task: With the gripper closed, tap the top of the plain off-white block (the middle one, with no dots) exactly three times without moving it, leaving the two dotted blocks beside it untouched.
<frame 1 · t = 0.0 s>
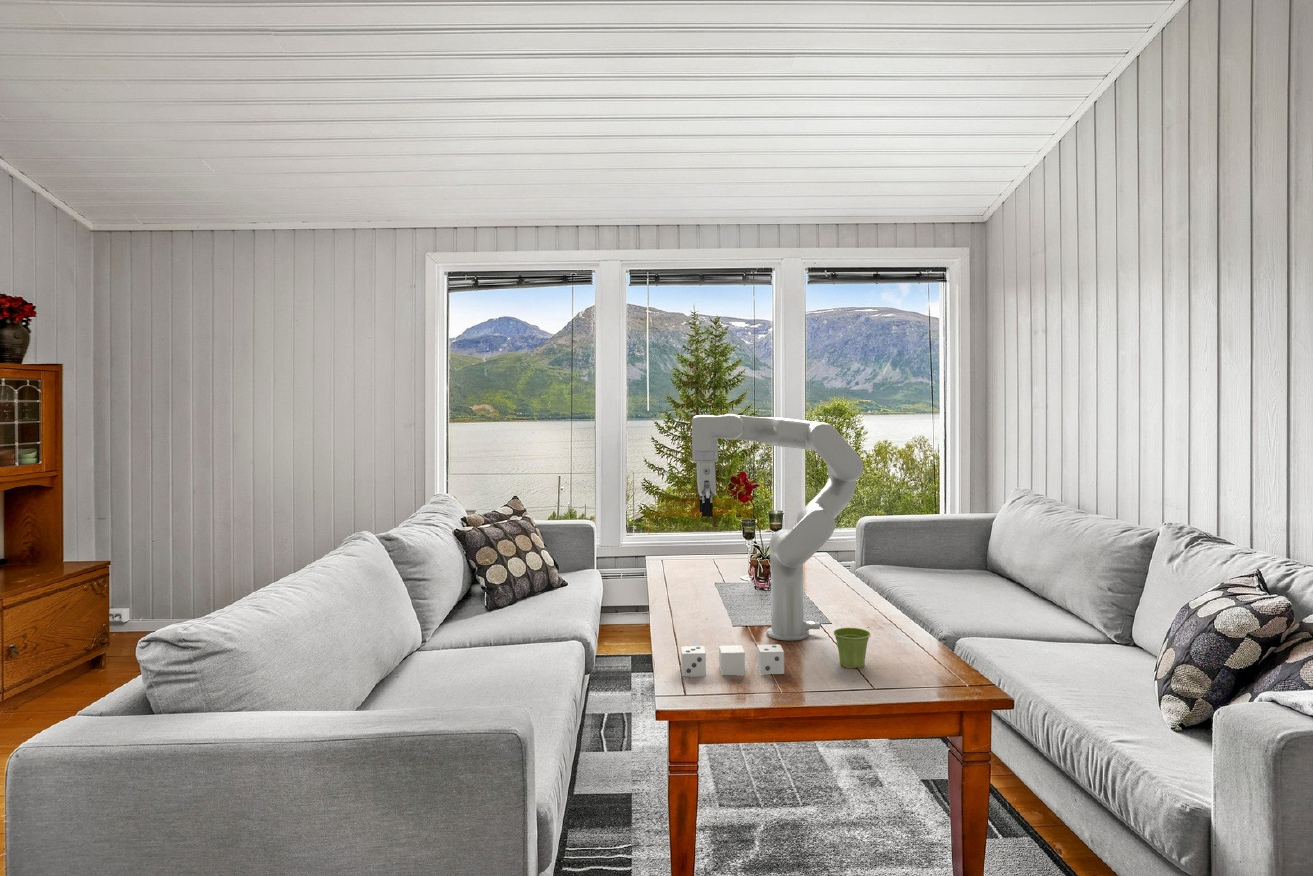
hand: (706, 514, 231), 37 cm above the table, tool pointing down, fingers open, 9 cm apart
plant pot: (852, 666, 205), on the table
plain block: (732, 671, 202), on the table
three dot block: (693, 672, 202), on the table
two dot block: (770, 671, 202), on the table
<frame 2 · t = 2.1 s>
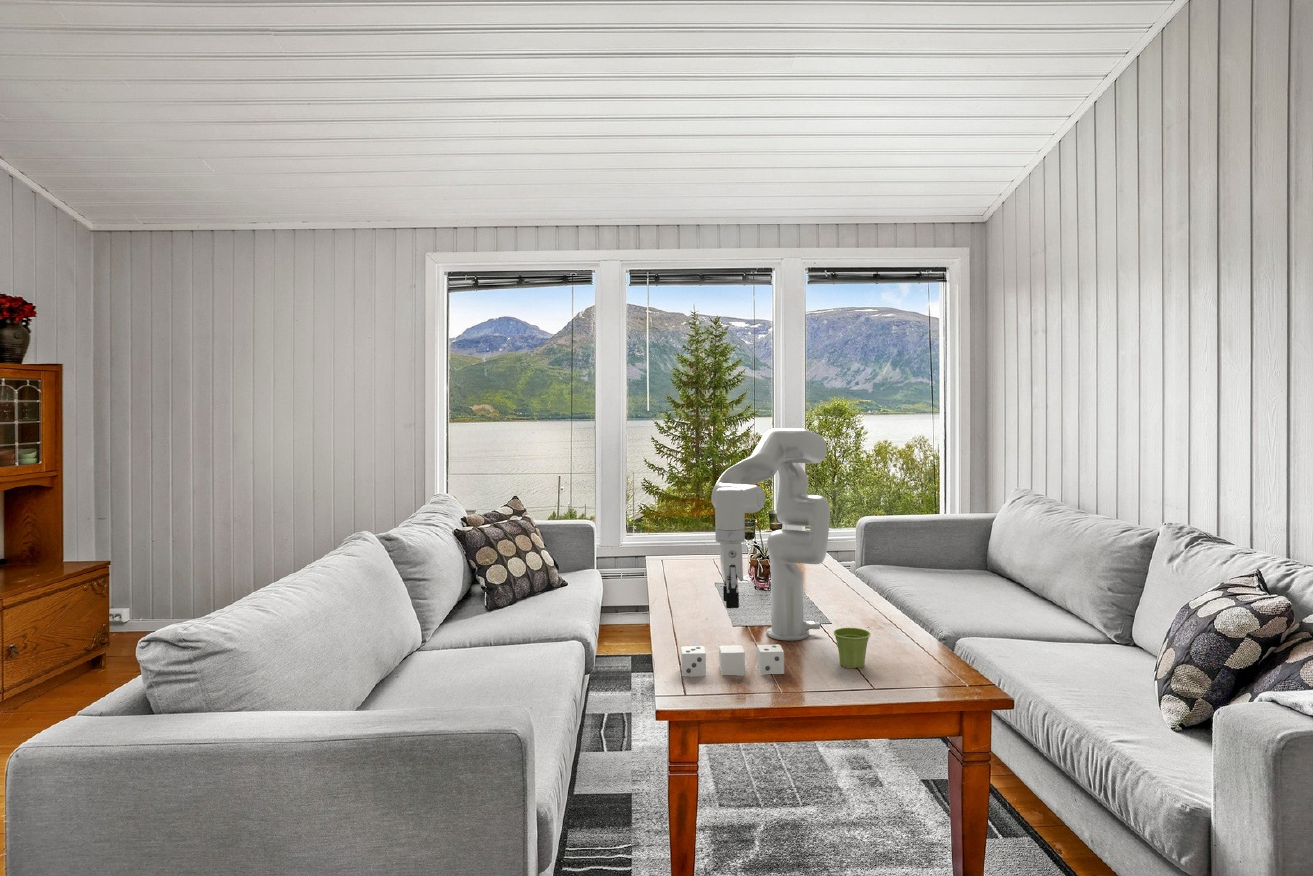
hand: (731, 603, 201), 18 cm above the table, tool pointing down, fingers open, 6 cm apart
nothing on the table moved.
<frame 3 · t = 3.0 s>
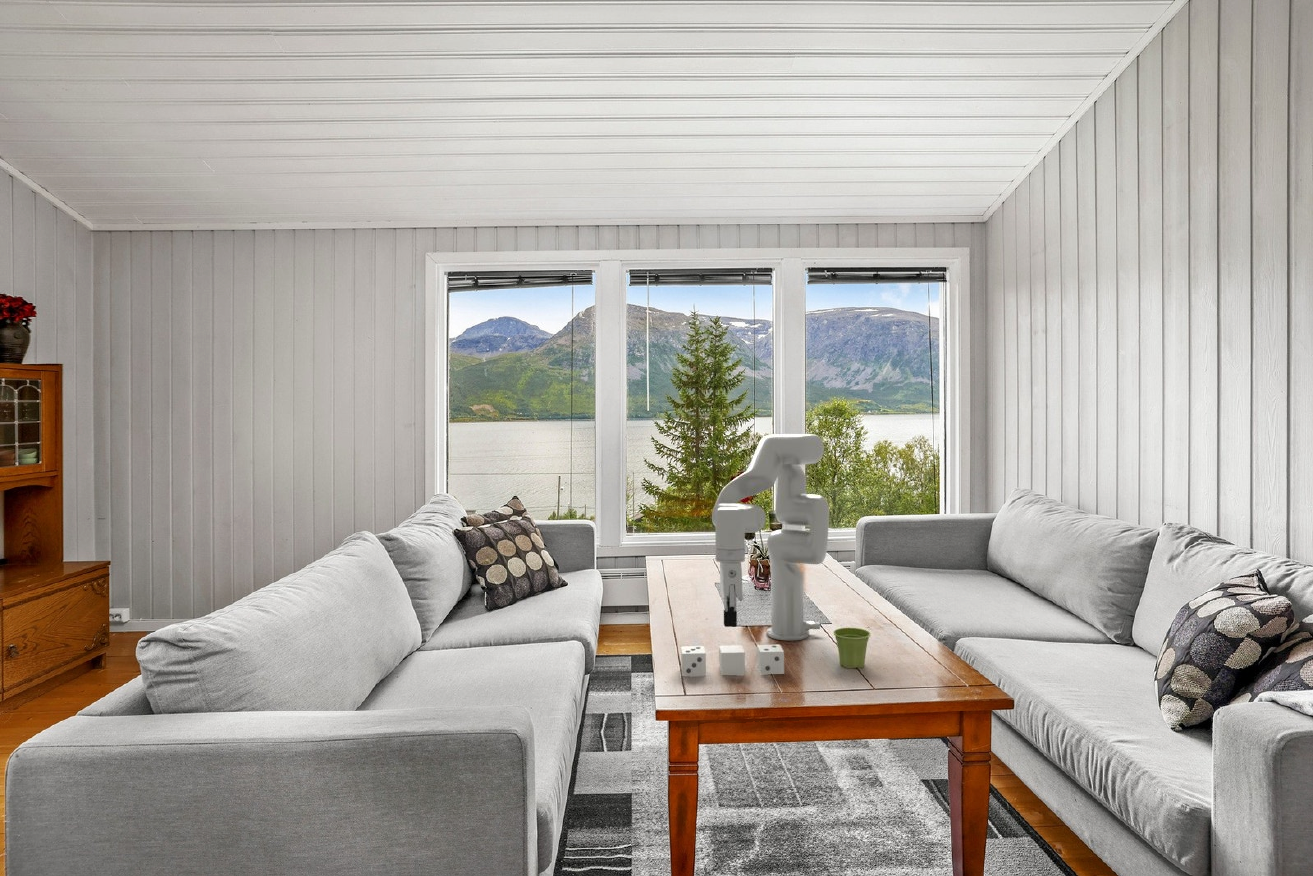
hand: (730, 625, 201), 12 cm above the table, tool pointing down, fingers closed
nothing on the table moved.
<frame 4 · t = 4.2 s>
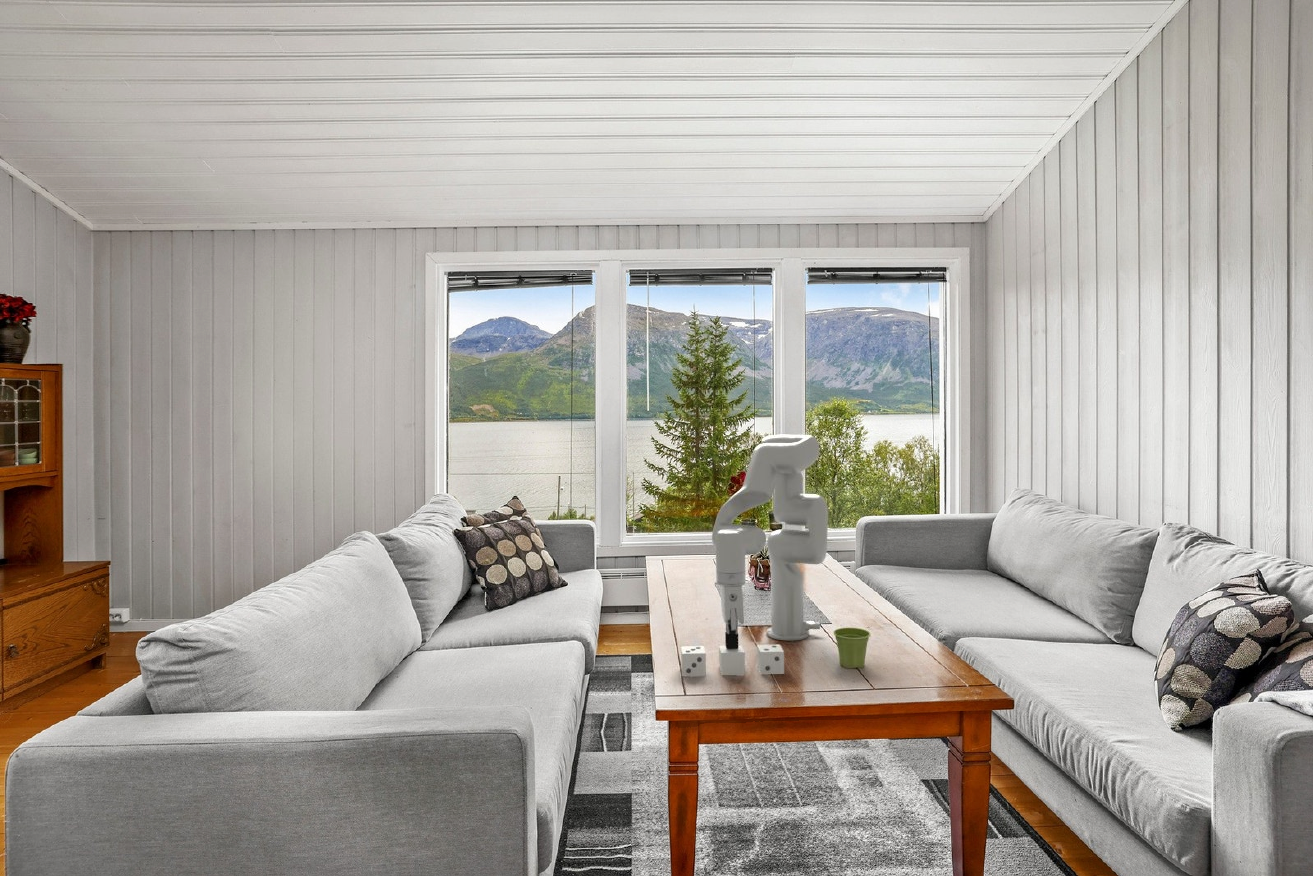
hand: (732, 647, 202), 6 cm above the table, tool pointing down, fingers closed
nothing on the table moved.
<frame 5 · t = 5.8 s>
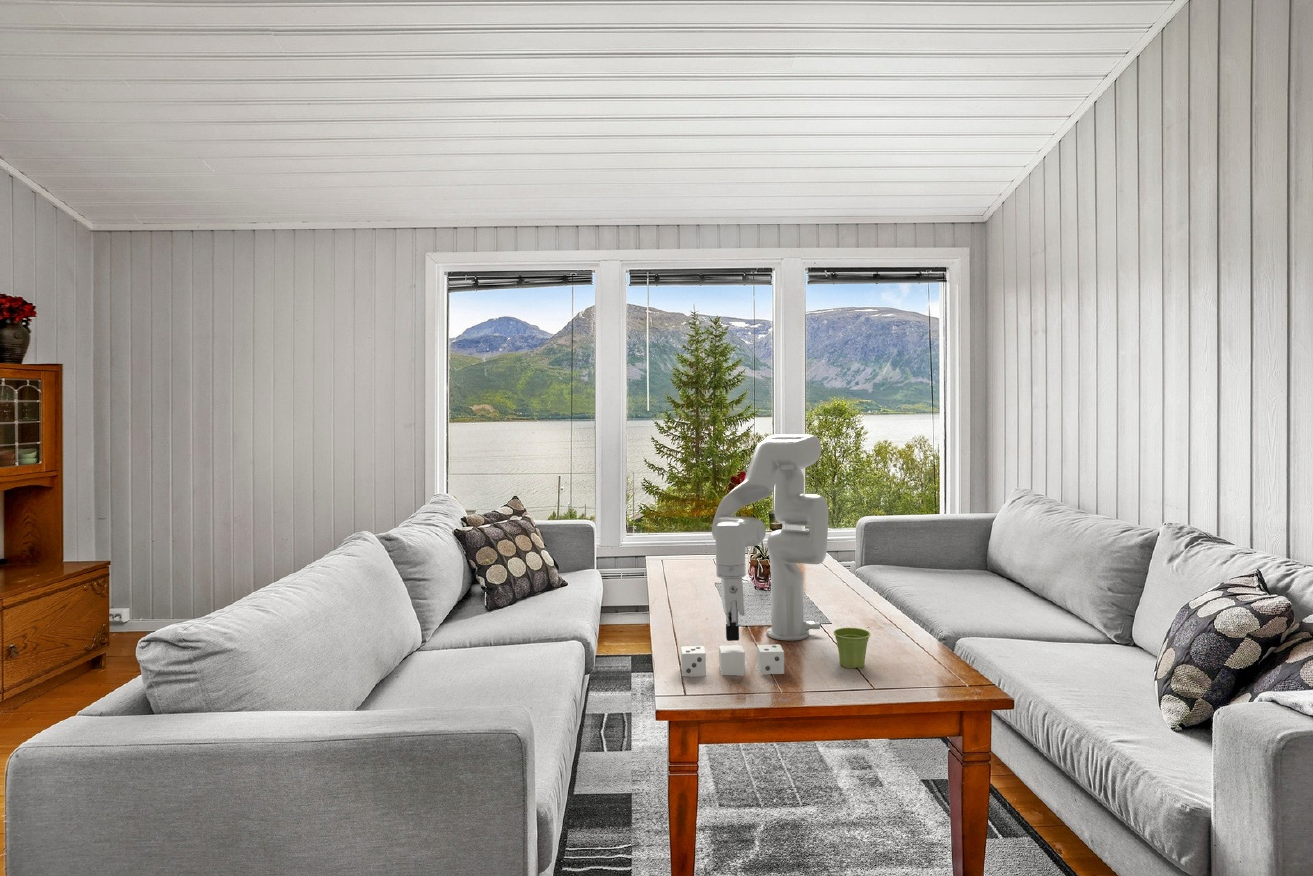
hand: (732, 639, 202), 8 cm above the table, tool pointing down, fingers closed
nothing on the table moved.
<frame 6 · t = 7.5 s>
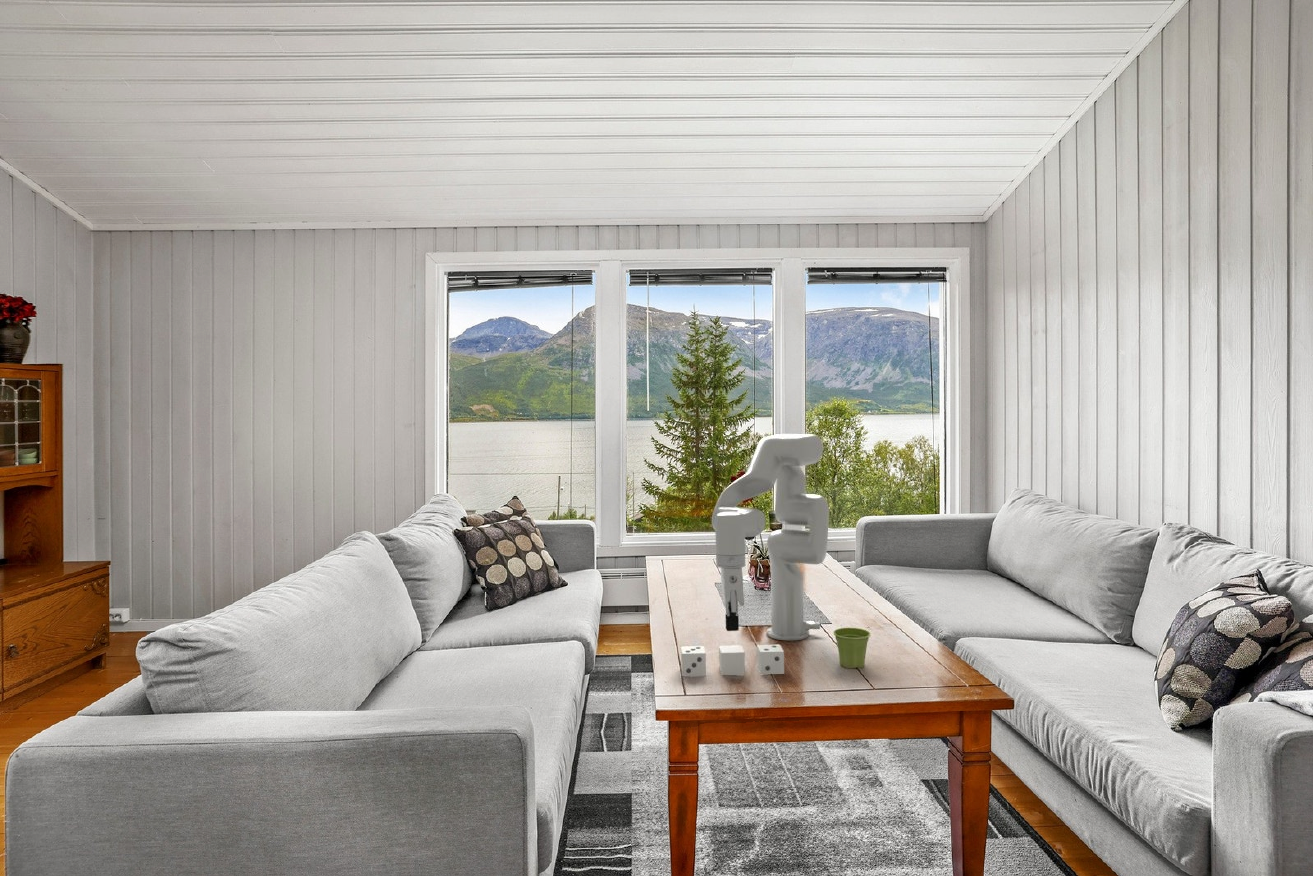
hand: (732, 629, 202), 11 cm above the table, tool pointing down, fingers closed
nothing on the table moved.
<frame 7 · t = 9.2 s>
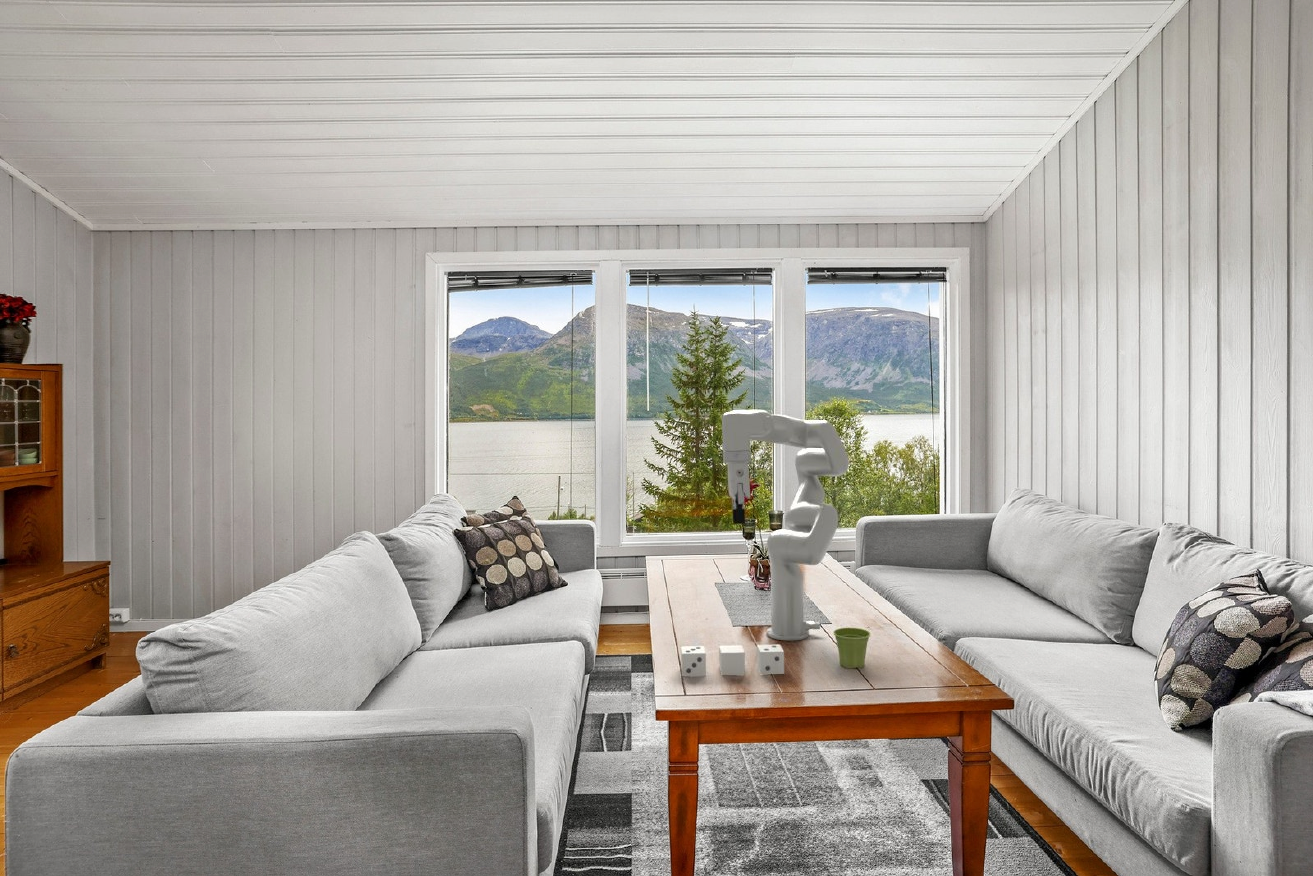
hand: (738, 523, 214), 36 cm above the table, tool pointing down, fingers closed
nothing on the table moved.
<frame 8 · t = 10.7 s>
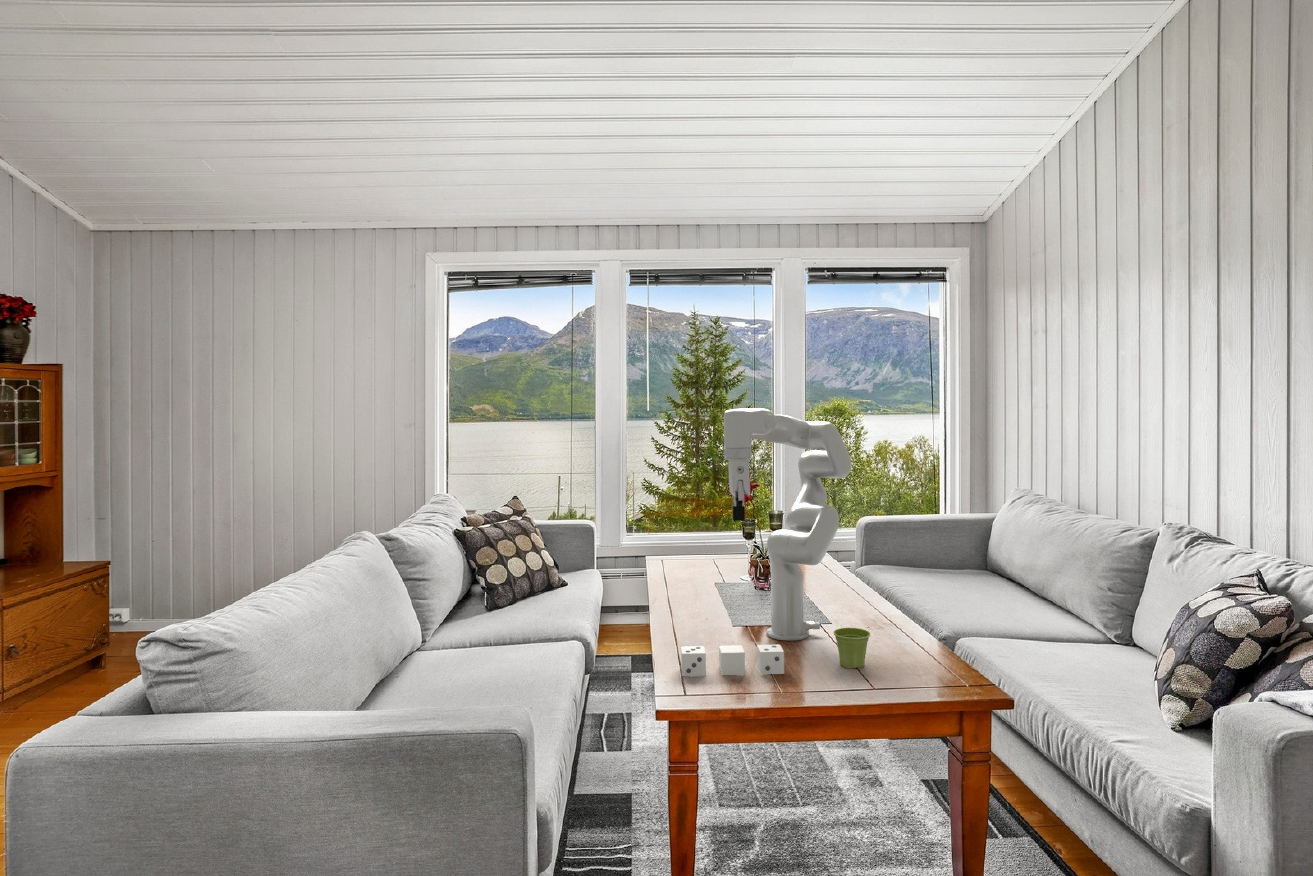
hand: (738, 520, 215), 37 cm above the table, tool pointing down, fingers closed
nothing on the table moved.
at the end: plain block moved 0.1 cm from its start; two dot block moved 0.1 cm from its start; three dot block moved 0.1 cm from its start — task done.
